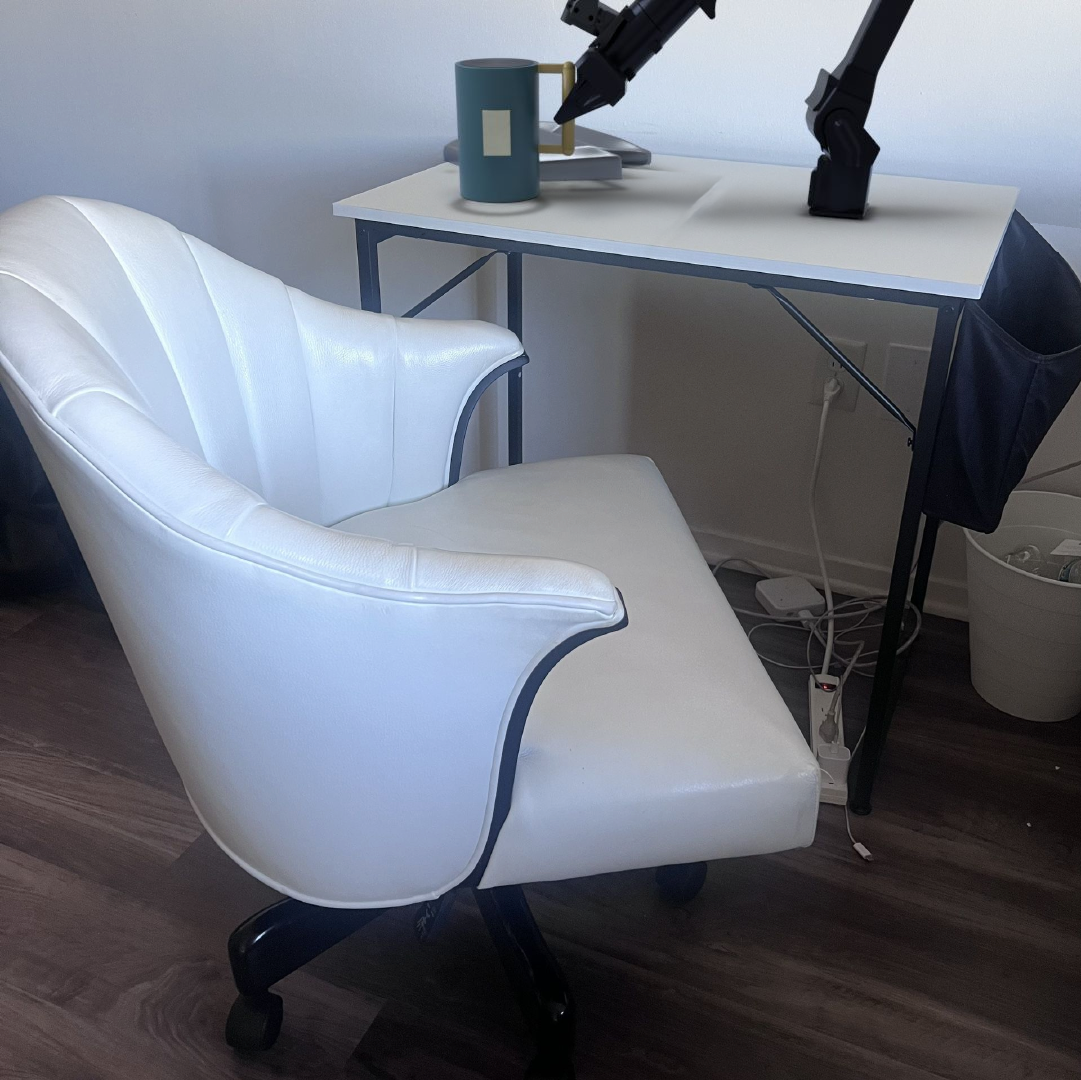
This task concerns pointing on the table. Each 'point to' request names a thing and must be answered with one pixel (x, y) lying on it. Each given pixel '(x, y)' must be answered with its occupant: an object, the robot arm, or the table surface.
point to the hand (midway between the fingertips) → (556, 120)
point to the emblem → (579, 155)
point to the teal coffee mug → (504, 127)
